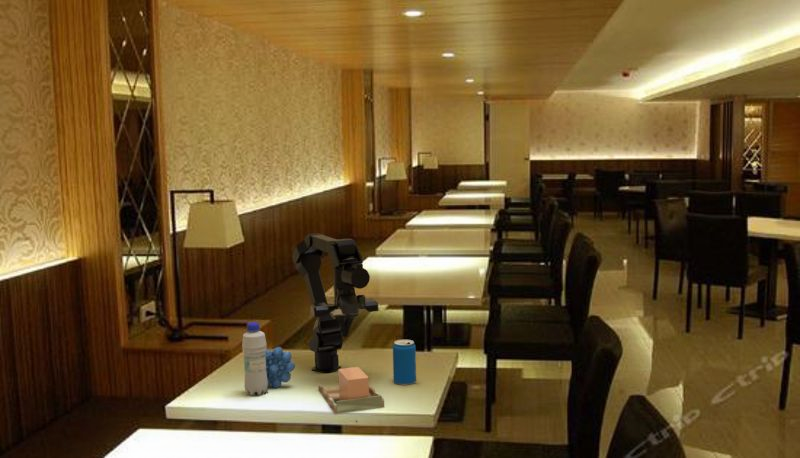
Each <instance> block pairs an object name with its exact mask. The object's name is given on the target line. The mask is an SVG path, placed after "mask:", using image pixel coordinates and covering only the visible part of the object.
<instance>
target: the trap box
mask: <svg viewBox="0 0 800 458" xmlns="http://www.w3.org/2000/svg"><path fill="white" fill-rule="evenodd" d="M317 386H318V387H317V388H318V392H319V393H320V394H321V396H322V397H323V398H324V400H325V401H326V403H327V404H328V406H329V407H330V409H331V410H332V411H333V413H334V414H335V415H337V414H345V413H353V412H359V411H360V412H361V411H366V410H374V409H380V408H385V399H384V396H382V395H381V394H380V393H379V392H378V391H376V390H375V388H373V387H372V386H371V385H370V384H369V397H365V398H357V399H349V400H342V401H341V400H340V398H339V386H335V387H334V386H333V387H328V388H324V387H323V385H322V384H321V383H317Z"/></svg>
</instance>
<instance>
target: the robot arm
mask: <svg viewBox="0 0 800 458" xmlns="http://www.w3.org/2000/svg"><path fill="white" fill-rule="evenodd" d="M325 253H327V257H328V258H329V259H331V262H330V267H332V269H333V270H332V271H333V272H332V273H333V303H334V304H328V301H327V296H326V292H325V289H324V286H323V282H322V278H321V273H320V269H321V267H322V262H323V261H322V258H323V256H324V254H325ZM291 257H292V259H291V260H292V262H293V264H294V266H295V269H296V271H298V272H299V274H301V276H302V277H303V279H304V281H305V286H306V290H307V293H308V297H309V301H310V304H311V305H310V314H311V315H312V316H313V317H314V320H315V322H314V325H313V328H312V336H311V339H310V341H309V343H308V345H309V350H310V351H312V352H313V353H314V365H315V366H314V367H312V368H311V370H312V371H314V372H315V371H316V372H318V373H319V372H321V373H326V374H330V373H332V372H334V371H337V370H338V369H342V368H341V365H339V354H338V350H342V347H343V346H342V345H343V340H344V338H347V337H348V336H349V334H350V333H349V332H350V330H351V327H352V323H353V322H354V319H355V318H356V317H358V316H360V313H359V312H360V311H359V310H363V309H365V311H367V312H368V313H370V312H371V313H372V312H373V313H374V312H378V311H379V309H380V308H379V302H378V301H376V299H374V298H371V297H370V298H366V296H365V294H358V295H357V294H356V290H355V289H363V288H366V287H367V286H368V284H369V283H370V277H371V276H370V274H369V272H368V269H365V268H364V265H363V260H362V259H363V256H362V254H361V252H360V250H359V247H358V246H357V243H356V242H355V240H354V239H353V238H343V239H336V238H333V237H330V236H327V235H324V234H323V233H319V232H318V233H308V234H306V235H305V237H304V239H303V240H302V241H300V242H299V243H298V244H297V245H295V248H294V250H293V252H292V255H291Z"/></svg>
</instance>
